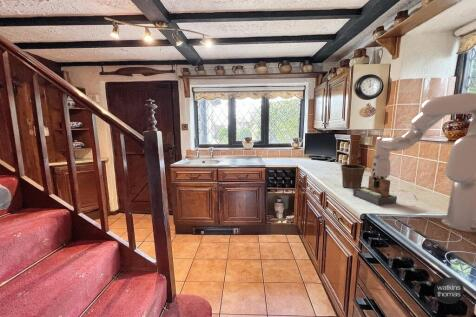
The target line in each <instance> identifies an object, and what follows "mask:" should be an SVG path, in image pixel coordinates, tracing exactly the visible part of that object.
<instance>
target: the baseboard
mask: <svg viewBox="0 0 476 317" xmlns="http://www.w3.org/2000/svg"><path fill="white" fill-rule="evenodd" d="M393 194H395V195H399V196H402V197H404V198H408V199H411V200H413V201H418V200H417V198H416V196H415V194H414V192H407V191H405V190H404V189H400V190H394V191H393Z"/></svg>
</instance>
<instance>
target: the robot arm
mask: <svg viewBox="0 0 476 317" xmlns="http://www.w3.org/2000/svg"><path fill="white" fill-rule="evenodd" d="M420 111H421V112H420V113H418V114H417V115H416V116H414V118H413V119H411V122H410V123H411V127H410V129H409V130H408V131H407V132H406V133H405V134H403V135H402V136H396V137H395V136H394V137H389V136H377V138H375V139H376V140H375V146H374V147H375V148H374V156H373V157H374V158H373V159H372V160H373V161H372V164H371V170H370V174H371V175H370V177H371V178H373V180H374V187H376V188H379V178H383V179H386V180H387V178H388V177H389V176H390V175H391V160H390V155H391V154H390V153H391V151H392V152H397V151H406V150H408V149H410V148H411V147H412V146H414V145H415V144H416V143H417V142H419V141H420V140H421V139H422V138H423V137H424V135H425V134H426V133H427V131H429V130H430V129H431V128H433V126H435V125H436V124H437V123H439V122H440V121H441V120H442V119H444V118H445V117H446V116H450V115H451V116H452V115H466V114H467V115H473V117H472V119H471V121H470V123H469V125H468V130H467V132H466V134H465V136H462V137H459V138H458V139H456V140H455V142H453V144H452V146H451V149H450V151H449V155H448V159H447V162H446V165H445V175H446V177H447V178H448V179H449V180H450V181H452V185H451V187H450V188H451V189H450V194H449V195H450V196H449V201H448V205H447V206H448V208H447V213H446V217H445V218H442V219H441V220H440V221H441V223H442V224H443V226H445V227H448V228H451V229H454V230H457V231H460V232H465V233H476V93H474V92H464V93H457V94H450V95H444V96H437V97H431V98H429V99H426V100H425V101H424V102H423V103H422V104H421V107H420ZM376 177H377V178H376Z"/></svg>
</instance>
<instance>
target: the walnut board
mask: <svg viewBox="0 0 476 317" xmlns="http://www.w3.org/2000/svg"><path fill="white" fill-rule="evenodd" d="M370 176H371V175H370ZM370 176H368V177H369V178H368V187H367V188H368V190H370V191H372V192H376V193H379V194H381V195H383V196H385V197H389V195H390V187H391V180H390V179H387V178H386V179H383V178H380V177H379V188H376V187H374V180H373V178H371V177H370ZM376 178H377V177H376Z"/></svg>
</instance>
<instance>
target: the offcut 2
mask: <svg viewBox="0 0 476 317" xmlns="http://www.w3.org/2000/svg"><path fill="white" fill-rule="evenodd" d="M369 195H372V196H375V197H377V198H381V196H382V195H381V194H379V193H376V192H369Z"/></svg>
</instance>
